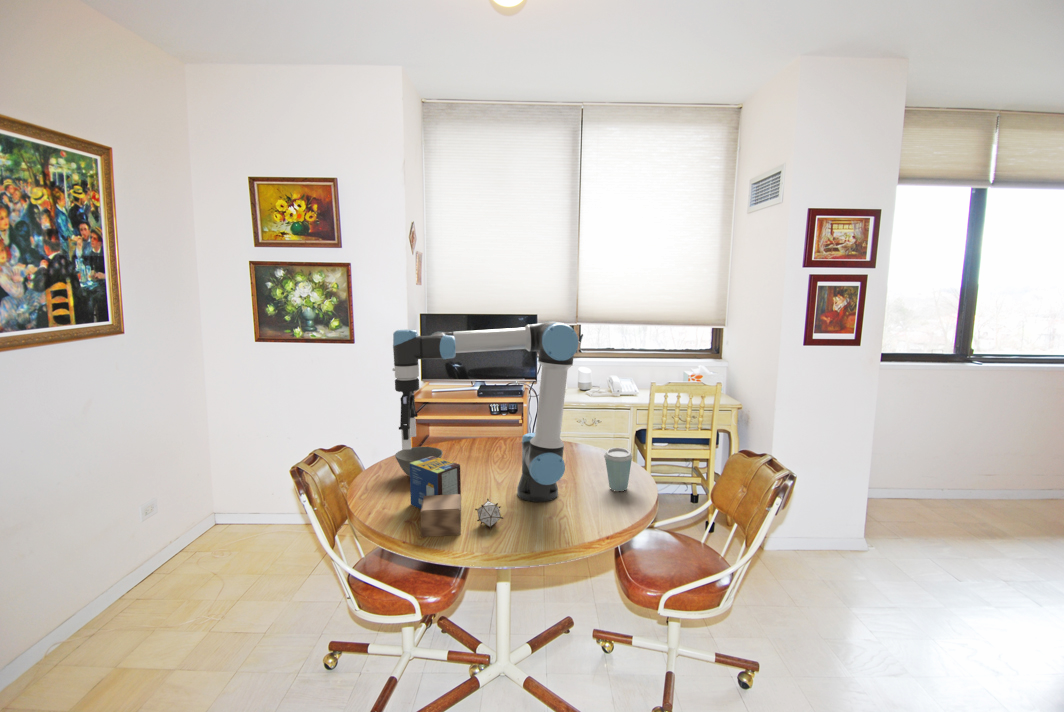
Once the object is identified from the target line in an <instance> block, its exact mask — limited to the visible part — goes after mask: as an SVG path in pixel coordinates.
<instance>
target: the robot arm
mask: <svg viewBox="0 0 1064 712" xmlns="http://www.w3.org/2000/svg"><path fill="white" fill-rule="evenodd" d="M392 341H393V343H392V349H393V365H394V366H393V367H394V368H392V371H393V372H394V379H395V380H394V390H395V391H396V392H398V393H402V395H401V396H400V398H399V399H400V421H399V423H400V426H398V430H401V433H400V434H401V450H406V449H411V448H412V438H415V437H417V426H416V425H417V422H416V420H417V419H416V418H418V415H419V414H418V413H417V410H416V402H415V397H416V396H415V392H416V391H418V390H420V379H419V378H418V377H420V367H419V366H420V365H419V360H447V359H454V358H456V354H460V353H474V352H475V353H476V352H477V353H479V352H480V353H481V352H495V351H497V352H498V351H511V350H526V351H528V352H538V358H537V359H538V360H537V362H538V363H539V365H540V366H541V372H540V385H539V394H538V403H537V413H536V414H537V415H536V423H535V432H530V433H529V432H528V433H525V434H523V435H522V439H521V440H522V441H521V476H520V478H519V483H518V485H517V490H516V492H517V493H516V494H517V496H518V497H519V498H520V499H521V500H524V501H527V502H533V503H545V502H550V501H552V500H555V499H556V498H557V497H558V495H559V488H558V485H557V482H558V481H560V480H561V479H562V478H563V475H564V474H565V472H566V471H565V470H566V464H565V461H564V458H563V457H564V449H565V443H564V441H562V439H561V436H562V435H561V433H562V426H563V415H564V406H565V397H566V388H567V377H568V370H569V368H571V367H572V366H573V363H574V356H575V355H576V353H577V351H578V348H579V344H580V343H579V336H578V334H577V332H576V331H575V330H574V328H573V327H572V326H570V325H569V324H566V323H565V322H560V321H554V320H551V321H545V322H539V323H532V324H526V325H525V326H524V327H512V328H511V327H510V328H493V329H492V328H491V329H477V330H459V331H435V332H433V333H431V334H430V335H419V334H418V331H417V330H416V329H397V330H395V331H394V332H393V340H392Z"/></svg>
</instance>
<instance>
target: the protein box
mask: <svg viewBox="0 0 1064 712" xmlns="http://www.w3.org/2000/svg"><path fill="white" fill-rule="evenodd" d="M461 481H462V480H461V464H460V463H456V462H453V461H450V460H447V459H444V458H442V457H441V458H438V457H435V456H430V457H427V458H424V459H420V460H417V461H414V462H411V463H410V477H409V486H410V487H409V489H410V490H409V491H410V495H409V496H410V505H411V506H413V507H415V508H418V509H420V510H421V508H422V503H423V498H424V496H430V495H451V494H461V495H462V487H461Z"/></svg>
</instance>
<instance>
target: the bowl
mask: <svg viewBox="0 0 1064 712" xmlns="http://www.w3.org/2000/svg"><path fill="white" fill-rule="evenodd" d="M443 453H444V452H443V450H442V449H441V448H437V447H433V446H414V447H413V446H412V447H411V449H406V450H402V449H401V450H398V451H397V452H396V453H395V454H394V457H395V460H396V461H397V463H398V466H399V467H400V468H401V470H402V471H403V472H404V474H406V475H407V476H408V477H409V478H410V463H411V462H414V461H417V460H420V459H424V458H427V457H430V456H435V457H438V458H441V459H442V457H443Z"/></svg>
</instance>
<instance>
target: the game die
mask: <svg viewBox="0 0 1064 712" xmlns="http://www.w3.org/2000/svg"><path fill="white" fill-rule="evenodd" d="M498 505H499V502H497V503H494V502H491V501H490V500H489V498H488V497H487V499H486V501H485V502H484V503H483V504H481V505H480V506H479V508H474V510H475V511H477V517H478V519H477V520H476V522H480V525H482V524H484V525H486V526H487V527H489V530H490V531H491V530H492V527H493V525H494V524H496V523H497V522H498V521H500V520H503V519H504V517H503V516H502V514H501V511H500V508H501V507H502V506H501V505H500V506H498Z"/></svg>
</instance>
